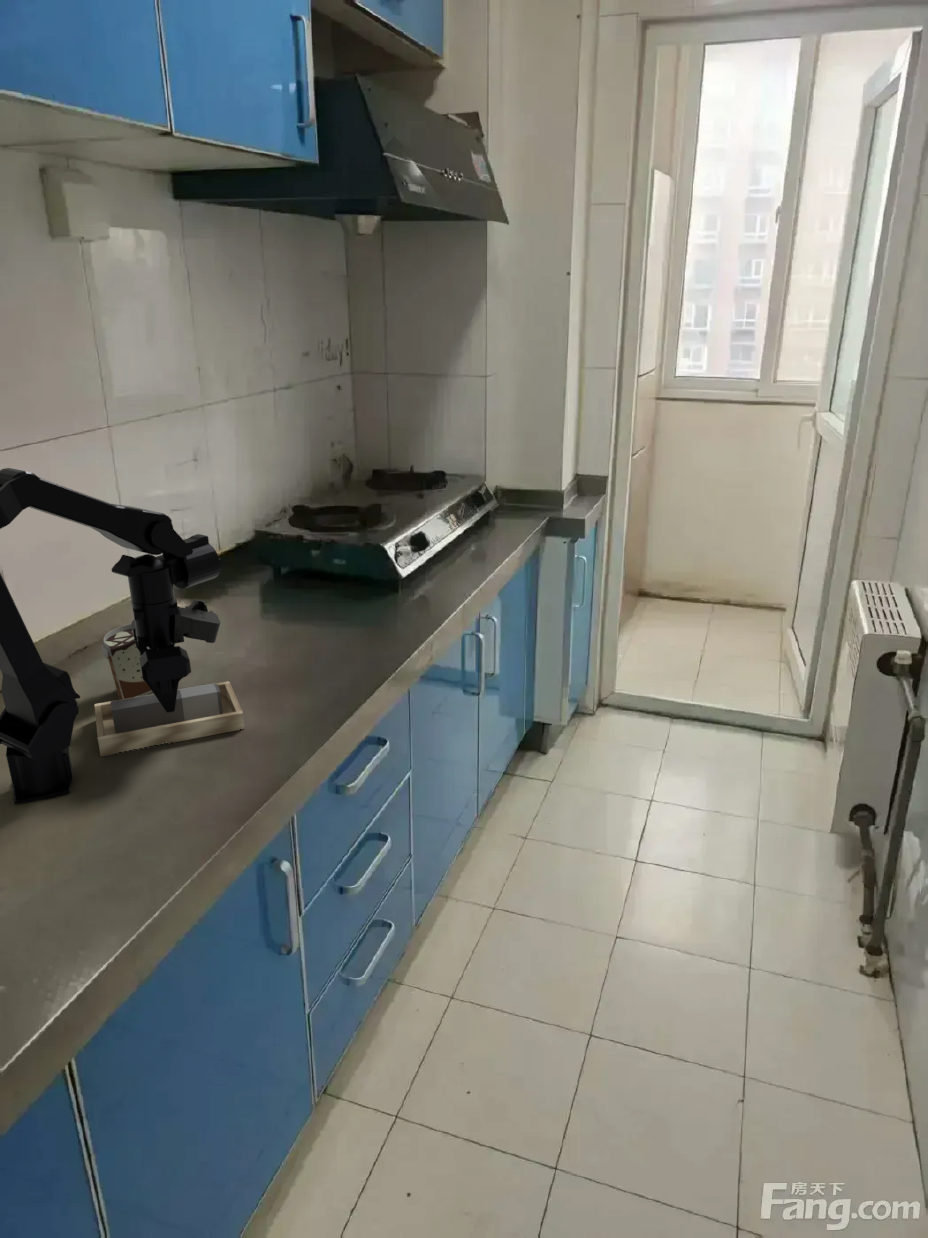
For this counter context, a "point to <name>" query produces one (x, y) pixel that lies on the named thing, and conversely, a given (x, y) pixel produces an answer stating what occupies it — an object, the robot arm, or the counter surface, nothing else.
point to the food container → (125, 662)
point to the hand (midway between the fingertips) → (167, 698)
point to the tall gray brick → (152, 713)
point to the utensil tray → (168, 726)
